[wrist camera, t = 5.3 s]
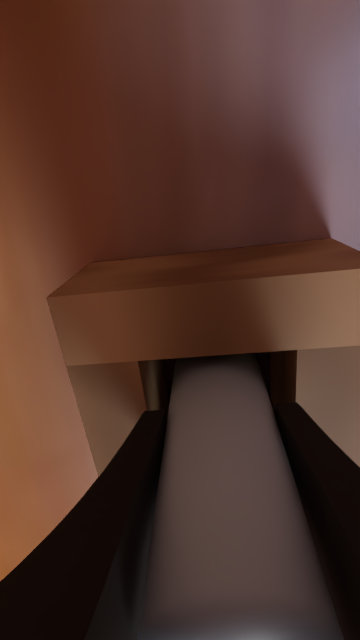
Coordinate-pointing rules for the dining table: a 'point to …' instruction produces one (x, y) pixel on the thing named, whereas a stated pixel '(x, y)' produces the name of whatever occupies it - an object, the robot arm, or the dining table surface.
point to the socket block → (214, 331)
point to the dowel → (230, 518)
